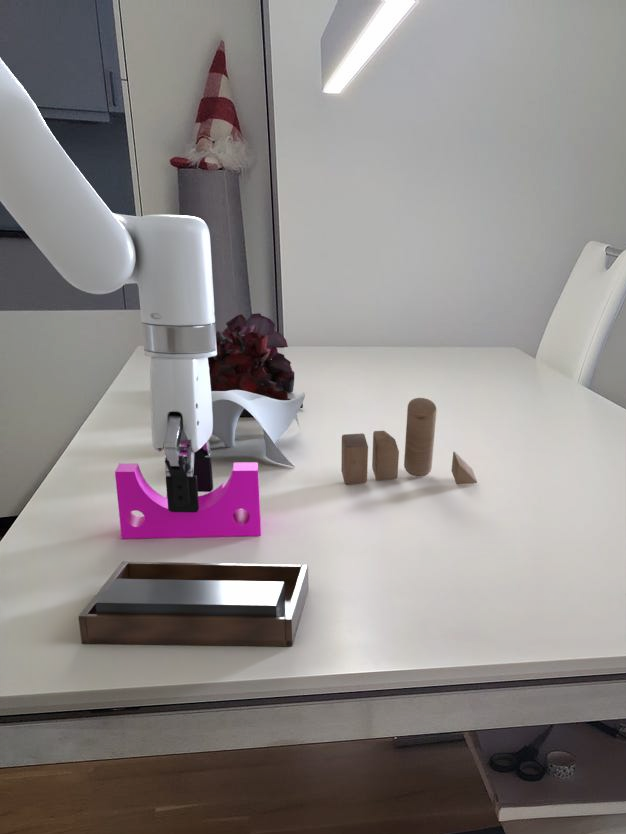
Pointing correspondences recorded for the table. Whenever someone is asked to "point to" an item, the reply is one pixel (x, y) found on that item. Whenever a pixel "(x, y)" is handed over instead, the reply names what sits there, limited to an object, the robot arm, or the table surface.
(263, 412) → the sculpture
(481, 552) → the table surface
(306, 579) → the wooden tray
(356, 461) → the wooden block set
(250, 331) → the flower arrangement
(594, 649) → the table surface
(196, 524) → the toy block
